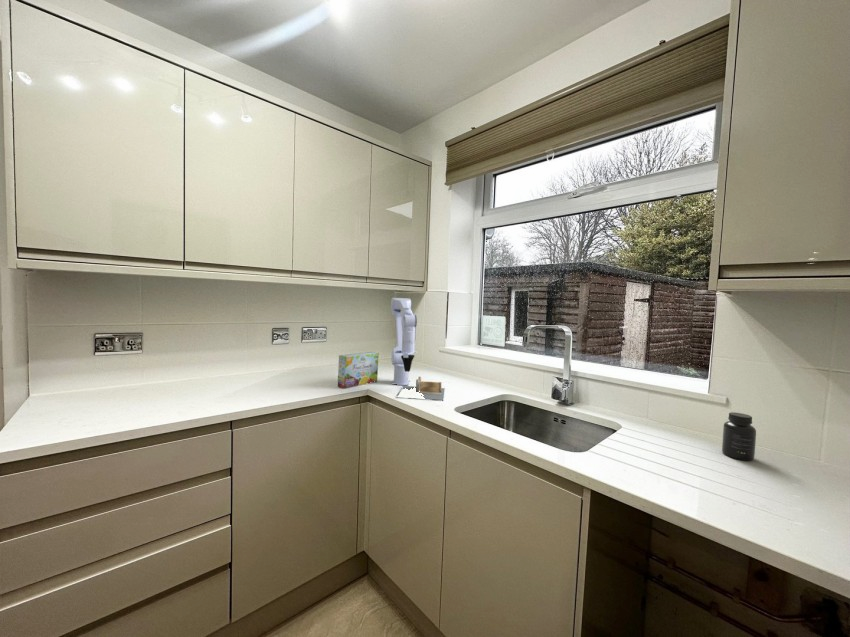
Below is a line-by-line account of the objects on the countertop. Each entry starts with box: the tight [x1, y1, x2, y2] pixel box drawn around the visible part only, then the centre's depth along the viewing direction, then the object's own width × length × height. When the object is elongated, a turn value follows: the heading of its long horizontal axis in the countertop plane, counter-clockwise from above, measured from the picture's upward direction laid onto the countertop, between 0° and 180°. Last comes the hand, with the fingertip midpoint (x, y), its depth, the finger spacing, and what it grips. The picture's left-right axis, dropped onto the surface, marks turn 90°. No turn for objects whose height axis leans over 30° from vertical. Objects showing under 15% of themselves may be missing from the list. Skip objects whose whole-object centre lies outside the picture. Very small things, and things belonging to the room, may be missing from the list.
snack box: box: [337, 351, 380, 389], centre depth 164 cm, size 21×6×15 cm, turn 143°
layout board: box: [402, 376, 445, 402], centre depth 152 cm, size 20×20×6 cm
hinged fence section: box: [420, 380, 442, 393], centre depth 152 cm, size 10×1×4 cm, turn 86°
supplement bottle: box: [721, 411, 757, 462], centre depth 96 cm, size 7×7×12 cm
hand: (407, 371), depth 153 cm, fingers closed
